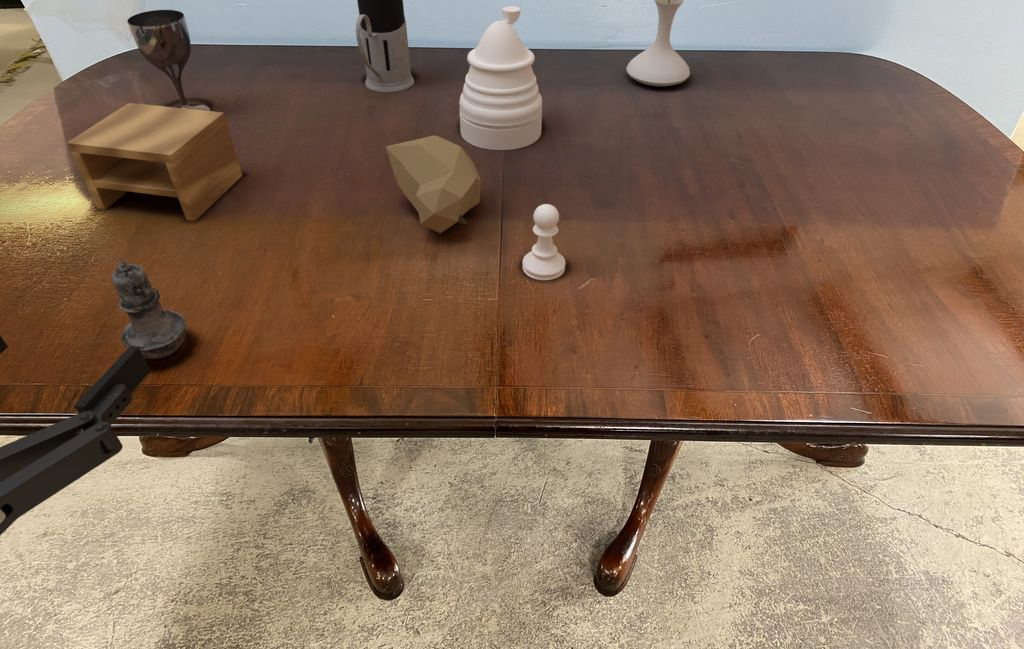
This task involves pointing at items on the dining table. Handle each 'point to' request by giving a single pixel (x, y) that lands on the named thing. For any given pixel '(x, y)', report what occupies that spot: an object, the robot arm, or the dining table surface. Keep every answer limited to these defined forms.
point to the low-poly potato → (436, 180)
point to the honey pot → (501, 90)
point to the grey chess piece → (146, 314)
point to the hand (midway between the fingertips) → (67, 346)
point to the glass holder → (384, 45)
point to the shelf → (158, 156)
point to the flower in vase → (660, 53)
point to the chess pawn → (544, 246)
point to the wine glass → (165, 45)
